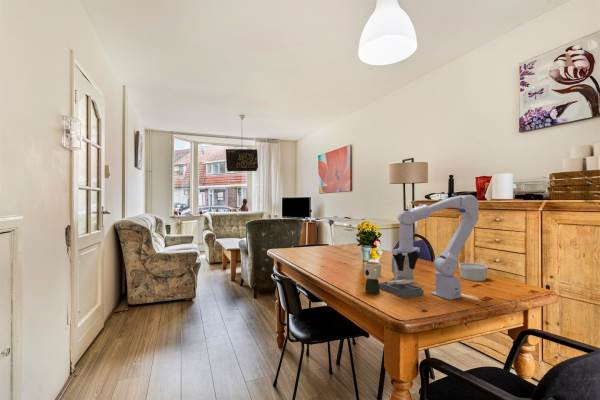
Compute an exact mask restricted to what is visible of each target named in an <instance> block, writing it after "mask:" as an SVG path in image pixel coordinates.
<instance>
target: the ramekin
mask: <svg viewBox="0 0 600 400" xmlns="http://www.w3.org/2000/svg"><path fill="white" fill-rule="evenodd" d="M458 269H459V275H460V277H461V279H463V280H467V281H473V282H484V281H485V280H486V279H487V275H488V270H489V267H488V266H487V265H485V264H483V263H482V264H481V263H477V262H475V263H474V262H460V263H459V264H458Z"/></svg>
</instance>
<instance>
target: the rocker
mask: <svg viewBox="0 0 600 400" xmlns="http://www.w3.org/2000/svg"><path fill="white" fill-rule="evenodd" d="M389 281H390V282H387V281H386V282H387V284H395V285H397V284H406V283H411V282H415V281H413V280H405V279H404V280H396V281H393V280H389Z"/></svg>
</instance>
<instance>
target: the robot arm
mask: <svg viewBox="0 0 600 400" xmlns="http://www.w3.org/2000/svg"><path fill="white" fill-rule="evenodd" d="M480 204H481V203H480V202H479V200H478V198H477V197H476V196H474V195H472V194H465V195H463V194H460V195H457V196H451V197H448V198H446V199H443V200H440V201H437V202H435V203H433V204H430V205H428V204H423V203H420V204H418V206H414V208H413V207H412V208H408V209H407V210H403V211H401V212H400V213H399V214H398V216H397V220H398V222H399V228H398V229H399V230H398V233H399V236H398V237H399V241H398V242H399V243H398V244H399V245H398V246H399V247H398V248H394V249H392V250H391V251H392V252H391V253H392V254H391V255H392V257H394V259H395V261H396V263H397V267H398V270H399V271H403V267H404V259H405V257H406V256H404V255H403V254H404V253H407V255H408V259H409V268H410V269H413V270H415V268H416V264H417V261H418V260H419V257H420V256H421V253H420V252H421V251H420V250H421V248H420V247H418V246H414V223H415V222H417V221H421V220H423V219H427V218H430V217H431V215H432V214H433V213H436V212H438V211H441V210H445V209H448V208H455V209H457V211H458V212H459V213H460V215H461V218H462V220H461V222H460V223H459V225H458V227H457V228H456V230H455V232H454V233H453V235H452V237H451V239H450V240H449V243H447V245H446V248H445V249H444V250H443V251H442V252H440V254H439V255H438V256H437V257H436V258H434V260H433V263H432V264H433V267H434V268H435V272H434V276H435V277H434V278H435V279H434V281H435V282H434V285H435V286H434V287H435V288H434V289H435V291H430V294H432V295H435V296H438V297H441V298H443V299H446V300H454V299H459V298H462V297H463V295H462V294H461V293H462V291H461V290H462V289H461V288H462V287H461V286H462V282H461V279H460V278H459V277H456V276H455V273H456V270H457V265H458V262H459V260H458V256H459V254H460V253H461V251H462V249H463V248H464V246H465V244H466V243H467V241H468V239H469V237H470V236H471V233H472V232H473V230H474V228H475V227H476V225H477V222H478V221H479V207H480Z"/></svg>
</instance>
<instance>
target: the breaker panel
mask: <svg viewBox="0 0 600 400" xmlns="http://www.w3.org/2000/svg"><path fill="white" fill-rule="evenodd" d="M390 281H391V280H389V281H383V282H379V287H380V291H384V292H387V293H389V294H392V295H395V296H398V297H401V298H402V299H410V298H414V297H415V298H416V297H418V296H419V297H420V296H423V295H425V294H424V293H425V292H424V290H425V289H423V287H420V286H418V285H414V284H413V285H411V284H408V283H406V284H397V285H395V284H387V282H390ZM392 281H396V280H394V279H393V280H392Z"/></svg>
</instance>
